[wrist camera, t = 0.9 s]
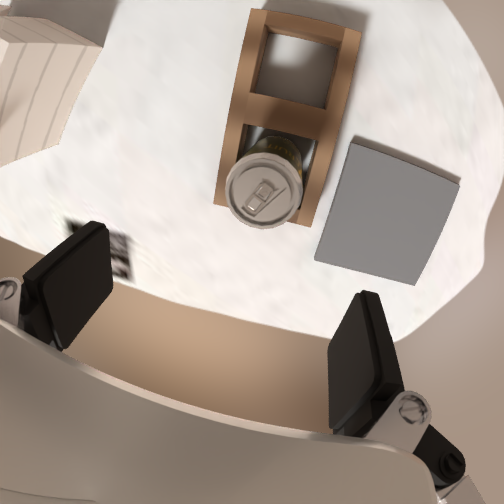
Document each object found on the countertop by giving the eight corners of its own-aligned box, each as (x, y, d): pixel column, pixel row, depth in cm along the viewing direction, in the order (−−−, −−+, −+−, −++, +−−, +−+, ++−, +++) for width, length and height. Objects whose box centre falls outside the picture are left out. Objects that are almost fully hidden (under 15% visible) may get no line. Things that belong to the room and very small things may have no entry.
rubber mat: (350, 141, 27) (351, 142, 26) (457, 183, 26) (460, 185, 26) (314, 256, 34) (314, 260, 33) (412, 282, 34) (414, 285, 33)
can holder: (256, 18, 22) (251, 8, 19) (354, 39, 21) (361, 32, 18) (221, 193, 32) (213, 203, 29) (309, 214, 32) (310, 227, 29)
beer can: (280, 194, 31) (269, 246, 21) (240, 164, 30) (207, 201, 20) (312, 156, 28) (319, 190, 18) (270, 124, 27) (252, 138, 17)
